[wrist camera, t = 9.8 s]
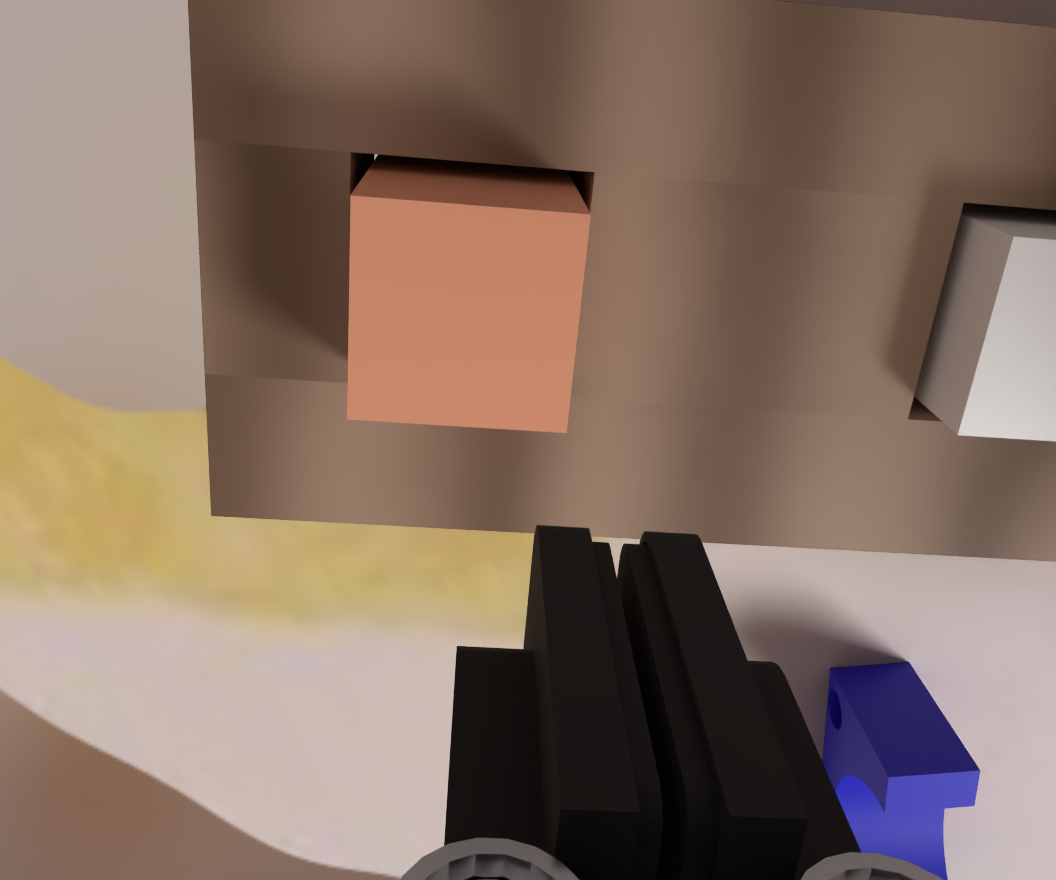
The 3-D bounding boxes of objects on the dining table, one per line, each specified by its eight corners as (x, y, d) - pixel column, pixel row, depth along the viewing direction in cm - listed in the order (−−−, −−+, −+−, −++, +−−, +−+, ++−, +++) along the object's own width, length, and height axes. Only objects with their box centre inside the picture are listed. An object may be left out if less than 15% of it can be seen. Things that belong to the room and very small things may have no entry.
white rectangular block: (1049, 196, 30) (1218, 252, 23) (1003, 352, 32) (1146, 447, 25) (890, 183, 30) (1013, 236, 23) (854, 342, 32) (957, 435, 25)
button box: (1216, 49, 29) (1389, 60, 24) (1071, 479, 35) (1184, 568, 29) (245, -45, 27) (185, -58, 21) (256, 429, 32) (211, 515, 27)
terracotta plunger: (563, 162, 28) (590, 214, 21) (546, 334, 30) (566, 433, 23) (382, 148, 27) (350, 195, 20) (377, 322, 29) (347, 419, 22)
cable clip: (913, 887, 42) (978, 1018, 37) (809, 895, 42) (859, 1027, 37) (946, 656, 38) (1025, 766, 32) (828, 664, 38) (888, 777, 32)
